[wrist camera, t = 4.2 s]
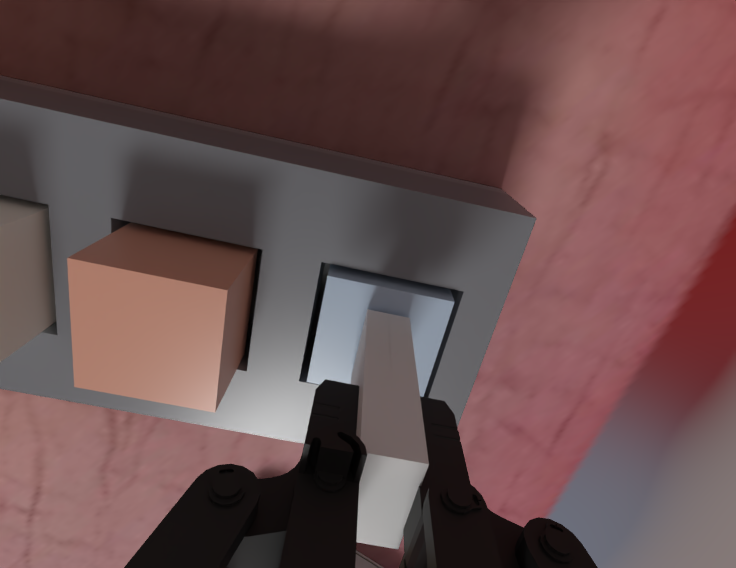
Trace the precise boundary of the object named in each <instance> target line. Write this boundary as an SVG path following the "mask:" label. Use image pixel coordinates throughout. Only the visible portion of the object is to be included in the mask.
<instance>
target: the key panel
mask: <svg viewBox="0 0 736 568" xmlns="http://www.w3.org/2000/svg"><path fill="white" fill-rule="evenodd" d="M0 195H2V196H7V197H12V198H16V199H21V200H26V201H31V202H36V203H40V204H45V205H48V206H49V221H50V235H51V249H52V263H53V278H54V292H55V306H56V320H57V321H56V322H54V323H53V324H52V325H50V326H49V327H48V328H46V329H45V330H44V331H42V332H41V333H40V334H38V335H37V336H35V337H34V338H33V339H31V340H30V341H29V342H27V343H26V344H25V345H23V346H22V347H20V348H19V349H18V350H16V351H15V352H14V353H12V354H11V355H10V356H8V357H7V358H5V359H4V360H3V361H1V362H0V389H5V390H10V391H16V392H21V393H27V394H33V395H38V396H44V397H49V398H55V399H60V400H66V401H71V402H77V403H82V404H88V405H93V406H99V407H104V408H110V409H115V410H121V411H127V412H132V413H138V414H143V415H149V416H154V417H160V418H165V419H171V420H176V421H182V422H187V423H193V424H198V425H204V426H209V427H215V428H220V429H226V430H232V431H237V432H243V433H248V434H254V435H259V436H265V437H270V438H276V439H281V440H287V441H292V442H298V443H303V444H304V443H305V438H306V434H307V429H308V424H309V419H310V414H311V410H312V405H313V400H314V395H315V390H316V388H317V387H318V386H319V384H314V383H309V382H307V377H308V372H309V367H310V362H311V357H312V352H313V347H314V342H315V337H316V332H317V327H318V321H319V316H320V311H321V306H322V301H323V296H324V291H325V286H326V281H327V276H328V272H329V268H330V264H334V265H339V266H344V267H349V268H353V269H358V270H363V271H368V272H373V273H377V274H382V275H387V276H392V277H396V278H401V279H406V280H411V281H416V282H420V283H425V284H430V285H435V286H439V287H444V288H449V289H450V291H451V293H452V296H453V299H454V305H453V308H452V311H451V314H450V317H449V321H448V324H447V327H446V330H445V333H444V336H443V339H442V342H441V345H440V348H439V351H438V354H437V357H436V360H435V363H434V366H433V369H432V372H431V375H430V378H429V381H428V384H427V387H426V390H425V393H424V396H423V397H426V398H431V399H437V400H442V401H445V402H446V403H447V405H448V406H449V408H450V409H451V410H452V412H453V413H454V415H455V419H456V423H457V426H458V424H459V421H460V419H461V416H462V413H463V411H464V408H465V405H466V403H467V400H468V397H469V395H470V392H471V390H472V387H473V384H474V382H475V379H476V376H477V374H478V371H479V368H480V366H481V363H482V361H483V358H484V355H485V353H486V350H487V347H488V345H489V342H490V339H491V337H492V334H493V332H494V329H495V326H496V324H497V321H498V318H499V316H500V313H501V311H502V308H503V305H504V303H505V300H506V297H507V295H508V292H509V289H510V287H511V284H512V282H513V279H514V276H515V274H516V271H517V268H518V266H519V263H520V260H521V258H522V255H523V253H524V250H525V247H526V245H527V242H528V239H529V237H530V234H531V231H532V229H533V226H534V224H535V221H536V217H534V216H533V215H532V214H531V213H530V212H528V211H527V210H526V209H525V208H524V207H522V206H521V205H520V204H519V203H518V202H516V201H515V200H514V199H513V198H512V197H510V196H509V195H508V194H507V193H506V192H504V191H503V190H502V189H500V188H495V187H491V186H486V185H482V184H477V183H473V182H469V181H464V180H460V179H455V178H451V177H447V176H442V175H438V174H433V173H429V172H425V171H420V170H416V169H411V168H407V167H402V166H398V165H394V164H389V163H385V162H380V161H376V160H372V159H367V158H363V157H358V156H354V155H350V154H345V153H341V152H336V151H332V150H328V149H323V148H319V147H314V146H310V145H305V144H301V143H297V142H292V141H288V140H283V139H279V138H275V137H270V136H266V135H261V134H257V133H253V132H248V131H244V130H239V129H235V128H231V127H226V126H222V125H217V124H213V123H208V122H204V121H200V120H195V119H191V118H186V117H182V116H178V115H173V114H169V113H164V112H160V111H156V110H151V109H147V108H142V107H138V106H133V105H129V104H125V103H120V102H116V101H111V100H107V99H103V98H98V97H94V96H89V95H85V94H81V93H76V92H72V91H67V90H63V89H59V88H54V87H50V86H45V85H41V84H36V83H32V82H28V81H23V80H19V79H14V78H10V77H6V76H1V75H0ZM129 223H136V224H141V225H146V226H150V227H155V228H160V229H165V230H169V231H174V232H179V233H184V234H189V235H193V236H198V237H203V238H208V239H212V240H217V241H222V242H227V243H232V244H236V245H241V246H246V247H251V248H255V249H258V251H257V259H256V267H255V275H254V283H253V291H252V299H251V307H250V315H249V323H248V331H247V339H246V347H245V354H244V356H243V358H242V360H241V362H240V364H239V366H238V368H237V370H236V372H235V374H234V376H233V378H232V380H231V382H230V384H229V386H228V388H227V390H226V392H225V394H224V396H223V398H222V400H221V402H220V404H219V406H218V408H217V410H216V412H215V413H214V412H208V411H203V410H197V409H192V408H187V407H181V406H176V405H170V404H165V403H159V402H154V401H148V400H143V399H137V398H132V397H126V396H121V395H116V394H110V393H105V392H99V391H94V390H88V389H83V388H77V387H74V373H73V355H72V337H71V319H70V301H69V283H68V265H67V258H68V257H70V256H71V255H73V254H75V253H77V252H79V251H80V250H82V249H84V248H86V247H88V246H89V245H91V244H93V243H95V242H97V241H98V240H100V239H102V238H104V237H106V236H107V235H109V234H111V233H113V232H115V231H116V230H118V229H120V228H122V227H124V226H125V225H127V224H129Z"/></svg>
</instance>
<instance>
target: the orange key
mask: <svg viewBox="0 0 736 568" xmlns="http://www.w3.org/2000/svg"><path fill="white" fill-rule="evenodd" d="M257 251H258V249H255V248H251V247H246V246H241V245H236V244H232V243H227V242H222V241H217V240H212V239H208V238H203V237H198V236H193V235H189V234H184V233H179V232H174V231H169V230H165V229H160V228H155V227H150V226H146V225H141V224H136V223H129V224H127V225H125V226H124V227H122V228H120V229H118V230H116V231H115V232H113V233H111V234H109V235H107V236H106V237H104V238H102V239H100V240H98V241H97V242H95V243H93V244H91V245H89V246H88V247H86V248H84V249H82V250H80V251H79V252H77V253H75V254H73V255H71V256H70V257H68V258H67V265H68V283H69V301H70V319H71V337H72V355H73V373H74V387H77V388H83V389H88V390H94V391H99V392H105V393H110V394H116V395H121V396H126V397H132V398H137V399H143V400H148V401H154V402H159V403H165V404H170V405H176V406H181V407H187V408H192V409H197V410H203V411H208V412H214V413H215V412H216V410H217V408H218V406H219V404H220V402H221V400H222V398H223V396H224V394H225V392H226V390H227V388H228V386H229V384H230V382H231V380H232V378H233V376H234V374H235V372H236V370H237V368H238V366H239V364H240V362H241V360H242V358H243V356H244V354H245V347H246V339H247V331H248V323H249V315H250V307H251V299H252V291H253V283H254V275H255V267H256V259H257Z"/></svg>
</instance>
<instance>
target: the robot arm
mask: <svg viewBox="0 0 736 568" xmlns="http://www.w3.org/2000/svg"><path fill="white" fill-rule="evenodd" d="M403 534H404V552H405V553H404V556H403V559H402V561H401V564H400V567H399V568H597V566H596V564H595V563H594V561H593V560H592V558H591V557H590V555H589V554H588V553H587V551H586V549H585V548H584V546H583V545H582V543H581V542H580V541H579V540H578V539H577V538H576V536H575V535H574V534H573V533H572V532H570V531H569V530H568V529H567V528H565V527H564V526H563V525H561V524H559V523H557V522H555V521H553V520H550V519H545V518H535V519H532V520H530V521H529V522H528V523H527V524H526V526H525V527H524V528H523V527H521V526H519V525H517V524H515V523H512V522H510V521H508V520H506V519H504V518H502V517H500V516H498V515H496V514H495V513H493V512H491V511H490V510H489V509H488V508H487V505H486V503H485V501H484V499H483V497H482V495H481V494H480V493H479V492H478V491H477V490H476V489H475V487H473V486H472V485H471V484H470V480H469V476H468V471H467V467H466V463H465V458H464V454H463V450H462V445H461V442H460V436H459V432H458V431H457V423H456V419H455V415H454V413H453V412H452V410H451V409H450V408H449V406H448V405H447V403H446V402H445V401H442V400H437V399H431V398H426V397H421V396H420V392H419V385H418V377H417V370H416V362H415V354H414V347H413V339H412V332H411V324H410V318H408V317H403V316H398V315H393V314H388V313H383V312H378V311H373V310H369V309H367V313H366V317H365V321H364V325H363V329H362V333H361V337H360V341H359V346H358V350H357V354H356V358H355V362H354V366H353V370H352V375H351V384H348V383H342V382H337V381H332V380H327V379H325V380H324V381H323V382H322V383H321V384H320V385H319V386H318V387H317V388H316V390H315V395H314V400H313V405H312V410H311V414H310V419H309V424H308V429H307V434H306V438H305V443H304V448H303V453H302V456H301V459H300V461H299V463H298V464H297V465H296V467H295V468H293V469H292V470H291V471H289V472H288V473H286V474H283V475H281V476H277V477H272V478H265V479H257V477H256V476H255V475H254V473H253V472H251V471H250V470H248V469H247V468H245V467H243V466H239V465H234V464H225V465H217V466H215V467H213V468H210V469H208V470H206V471H205V472H203V473H202V474H201V475H200V476H199V477H198V478H196V480H195V481H194V482H193V483H192V485H191V486H190V487H189V488H188V490H187V491H186V492H185V493H184V494H183V496H182V497H181V498H180V499H179V501H178V502H177V503H176V504H175V506H174V507H173V508H172V509H171V510H170V512H169V513H168V514H167V515H166V517H165V518H164V519H163V520H162V522H161V523H160V524H159V525H158V526H157V528H156V529H155V530H154V531H153V533H152V534H151V535H150V536H149V538H148V539H147V540H146V541H145V543H144V544H143V545H142V546H141V547H140V549H139V550H138V551H137V552H136V554H135V555H134V556H133V557H132V559H131V560H130V561H129V562H128V563H127V565H126V566H125V567H124V568H355V562H356V542H358V543H364V544H369V545H375V546H381V547H387V548H393V549H398V548H399V545H400V543H401V540H402V537H403Z"/></svg>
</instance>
